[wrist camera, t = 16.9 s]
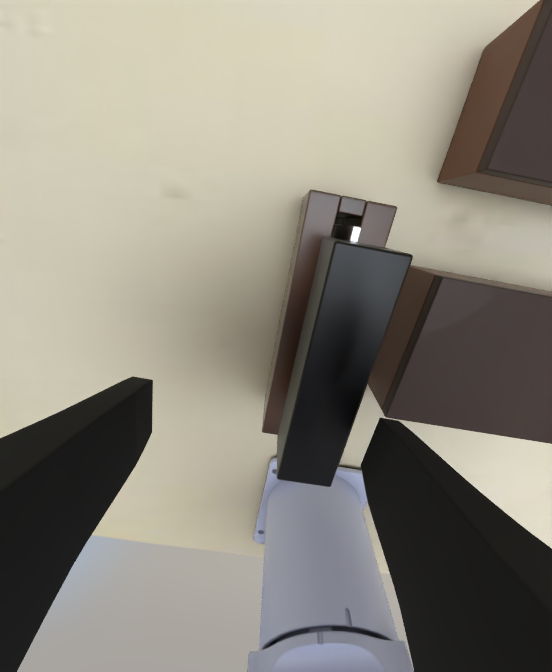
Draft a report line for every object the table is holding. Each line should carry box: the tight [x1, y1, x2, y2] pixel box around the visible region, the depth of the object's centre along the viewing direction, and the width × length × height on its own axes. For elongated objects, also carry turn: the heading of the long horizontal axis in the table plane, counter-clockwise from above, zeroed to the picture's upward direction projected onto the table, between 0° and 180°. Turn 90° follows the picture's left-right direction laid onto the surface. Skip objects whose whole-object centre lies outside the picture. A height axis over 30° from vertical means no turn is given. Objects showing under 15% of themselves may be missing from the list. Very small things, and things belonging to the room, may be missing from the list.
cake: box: [368, 265, 552, 444], centre depth 15 cm, size 8×11×4 cm
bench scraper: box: [277, 225, 413, 487], centre depth 13 cm, size 10×2×8 cm, turn 170°
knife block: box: [262, 190, 397, 435], centre depth 14 cm, size 12×4×4 cm, turn 170°
